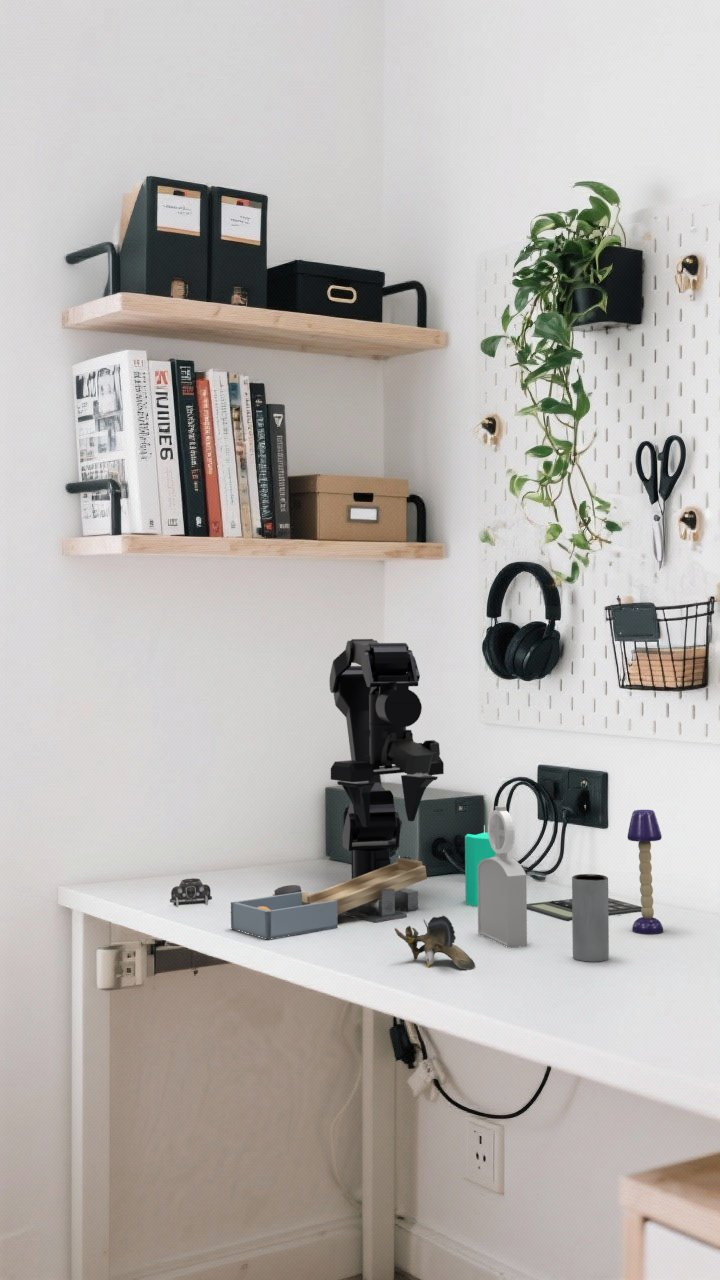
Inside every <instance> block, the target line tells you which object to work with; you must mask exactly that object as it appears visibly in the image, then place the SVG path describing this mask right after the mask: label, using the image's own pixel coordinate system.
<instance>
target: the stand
mask: <svg viewBox="0 0 720 1280" xmlns="http://www.w3.org/2000/svg"><path fill="white" fill-rule="evenodd" d="M396 909H397V910H398V909H399V910H403V911H406V912H412V911H416V910H419V891H418V890H413V889H408V888H406V887H405V888H402V889H400V890H397V891H395V889H384V890H378V898H377V899H375V900H372V901H370V902H367V903H365V904H362V905H360V906H357V907H355V908H352V909H350V910H347V911H345V912H342V913H340V914H339V915H343V916H348V917H351V918H356V919H360V920H364V921H369V922H372V923H381V922H386V921H391V920H397V919H402V918H408V913H406V912H403V911H402V912H401V911H399V910H398V911H397V910H396Z"/></svg>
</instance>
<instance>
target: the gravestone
mask: <svg viewBox="0 0 720 1280" xmlns="http://www.w3.org/2000/svg"><path fill="white" fill-rule="evenodd" d="M494 809H495V810H494ZM494 809H493V810H492V811H491V813H490V815H489V818H488V822H487V832H488V837H489V842H490V845H491V847H492V849H493V850H494V852H495V853H496V856H495V857H492V858H486V859H483V860H482V861H480V863H479V864H478V906H477V934H479V935H480V936H482V935H483V937H484V936H485V937H484V938H487V939H489V940H491V939H492V940H491V941H493V940H494V942H495V941H496V942H495V943H497V942H498V943H497V944H499V943H500V944H499V945H501V944H502V946H504V945H505V946H504V947H506V946H507V947H506V948H508V947H511V948H520V947H519V946H522V947H527V946H528V923H527V921H528V919H527V918H528V913H527V911H528V909H527V904H528V903H527V901H528V900H527V898H528V897H527V896H528V895H527V874H526V871H525V869H524V868H523V867H522V865H521V863H519V862H518V861H517V860H515V859H513V858H511V857H510V856H508V854H509V853H510V852H511V851H512V849H513V846H514V843H515V826H514V821H513V818H512V816H511V814H510V813H509V811H507V806H505V805H497V806H494Z"/></svg>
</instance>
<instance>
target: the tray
mask: <svg viewBox="0 0 720 1280" xmlns="http://www.w3.org/2000/svg"><path fill="white" fill-rule="evenodd" d="M302 892H303V891H302ZM302 892H297V893H290V894H283V895H277V896H273V895H270V896H264V897H258V898H257V897H256V898H250V899H245V900H238V901H233V902H231V901H230V929H231V928H232V929H235V930H240V931H243V932H246V933H249V934H253V935H256V936H260V937H263V938H266V939H270V940H272V939H271V938H276V939H278V938H277V937H282V938H284V937H283V936H287V937H289V936H288V935H293V936H296V935H295V934H299V935H303V934H302V933H305V934H309V933H308V932H310V933H315V932H322V931H328V930H332V929H337V928H338V914H337V901H336V900H333V901H327V902H321V903H314V904H308V905H302ZM260 906H264V907H267V908H269V909H270V911H267V910H264V909H260V908H257V907H260ZM232 929H231V930H232ZM235 930H234V931H235ZM249 934H248V935H249ZM256 936H255V937H256ZM263 938H262V939H263ZM266 939H265V940H266Z"/></svg>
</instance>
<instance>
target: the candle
mask: <svg viewBox="0 0 720 1280" xmlns="http://www.w3.org/2000/svg"><path fill="white" fill-rule="evenodd" d="M495 856H496V853H495V852H494V850H493V849H492V847H491V845H490V842H489V837H488V831H487V832H486V825H485V824H484V825H483V832H481V833H477V834H471V833H467V834H466V835H465V836H464V867H465V868H464V869H465V870H464V871H465V872H464V873H465V874H464V875H465V876H464V879H465V881H464V882H465V883H464V886H465V888H464V890H465V892H464V893H465V896H464V897H465V901H464V902H465V904H466V905H468V906H472V907H478V864H479V863H480V861H482V860H483V859H486V858H492V857H495Z"/></svg>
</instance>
